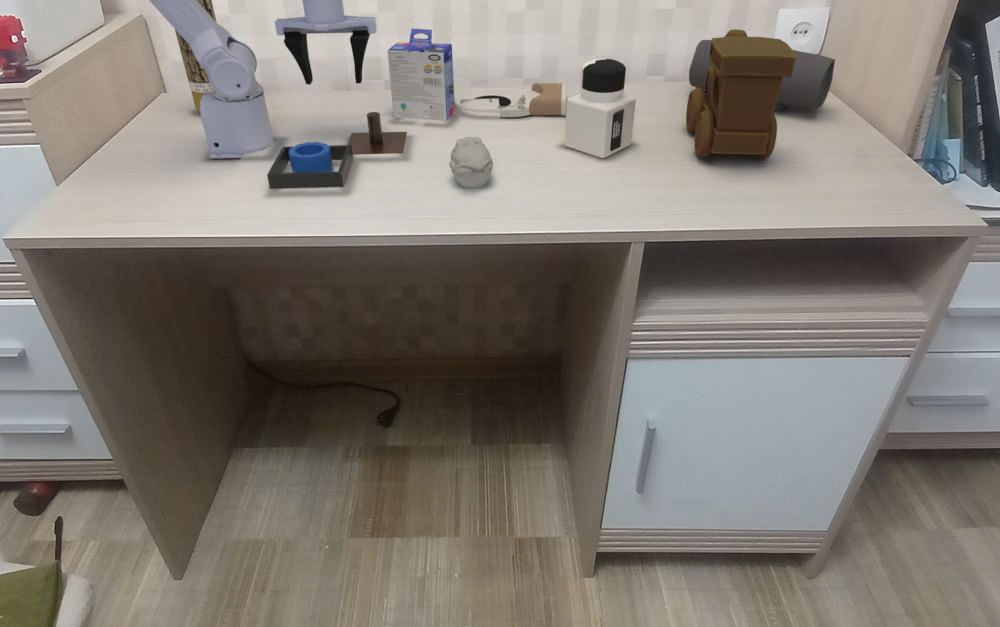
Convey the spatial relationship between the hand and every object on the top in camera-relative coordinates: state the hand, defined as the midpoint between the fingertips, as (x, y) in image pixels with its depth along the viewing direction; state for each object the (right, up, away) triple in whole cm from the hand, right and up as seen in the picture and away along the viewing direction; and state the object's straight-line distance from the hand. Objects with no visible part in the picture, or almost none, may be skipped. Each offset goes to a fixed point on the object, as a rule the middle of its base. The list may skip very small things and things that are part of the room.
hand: (334, 82), depth 109 cm
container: (+41, -9, +3) cm, 42 cm away
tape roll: (-1, -16, -7) cm, 17 cm away
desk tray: (-1, -16, -7) cm, 18 cm away
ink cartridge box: (+13, -2, +13) cm, 18 cm away
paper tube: (-26, +1, +18) cm, 31 cm away
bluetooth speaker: (+72, +2, +18) cm, 74 cm away
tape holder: (+6, -10, +2) cm, 12 cm away
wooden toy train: (+61, -9, +2) cm, 62 cm away
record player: (+27, +1, +18) cm, 33 cm away
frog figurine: (+22, -18, -9) cm, 30 cm away
